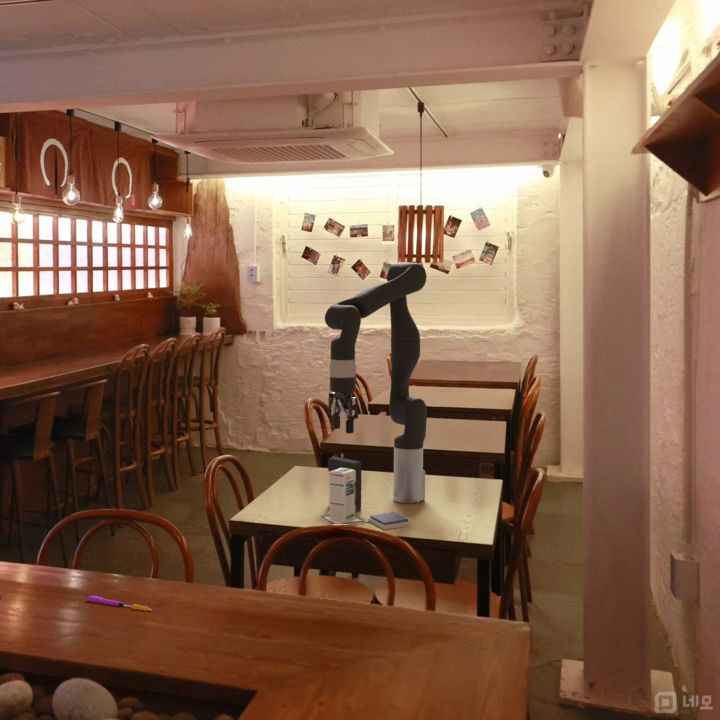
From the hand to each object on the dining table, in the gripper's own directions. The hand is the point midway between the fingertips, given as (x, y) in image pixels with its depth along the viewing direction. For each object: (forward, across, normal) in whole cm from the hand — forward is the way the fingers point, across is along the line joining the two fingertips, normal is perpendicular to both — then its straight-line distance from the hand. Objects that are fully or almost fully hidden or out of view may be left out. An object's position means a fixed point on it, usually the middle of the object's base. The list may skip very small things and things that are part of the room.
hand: (342, 430), depth 227 cm
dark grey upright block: (+26, +11, -6) cm, 29 cm away
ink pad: (+26, -9, -10) cm, 30 cm away
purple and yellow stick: (+26, -34, +70) cm, 82 cm away
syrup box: (+26, 0, 0) cm, 26 cm away
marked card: (+26, 0, 0) cm, 26 cm away
